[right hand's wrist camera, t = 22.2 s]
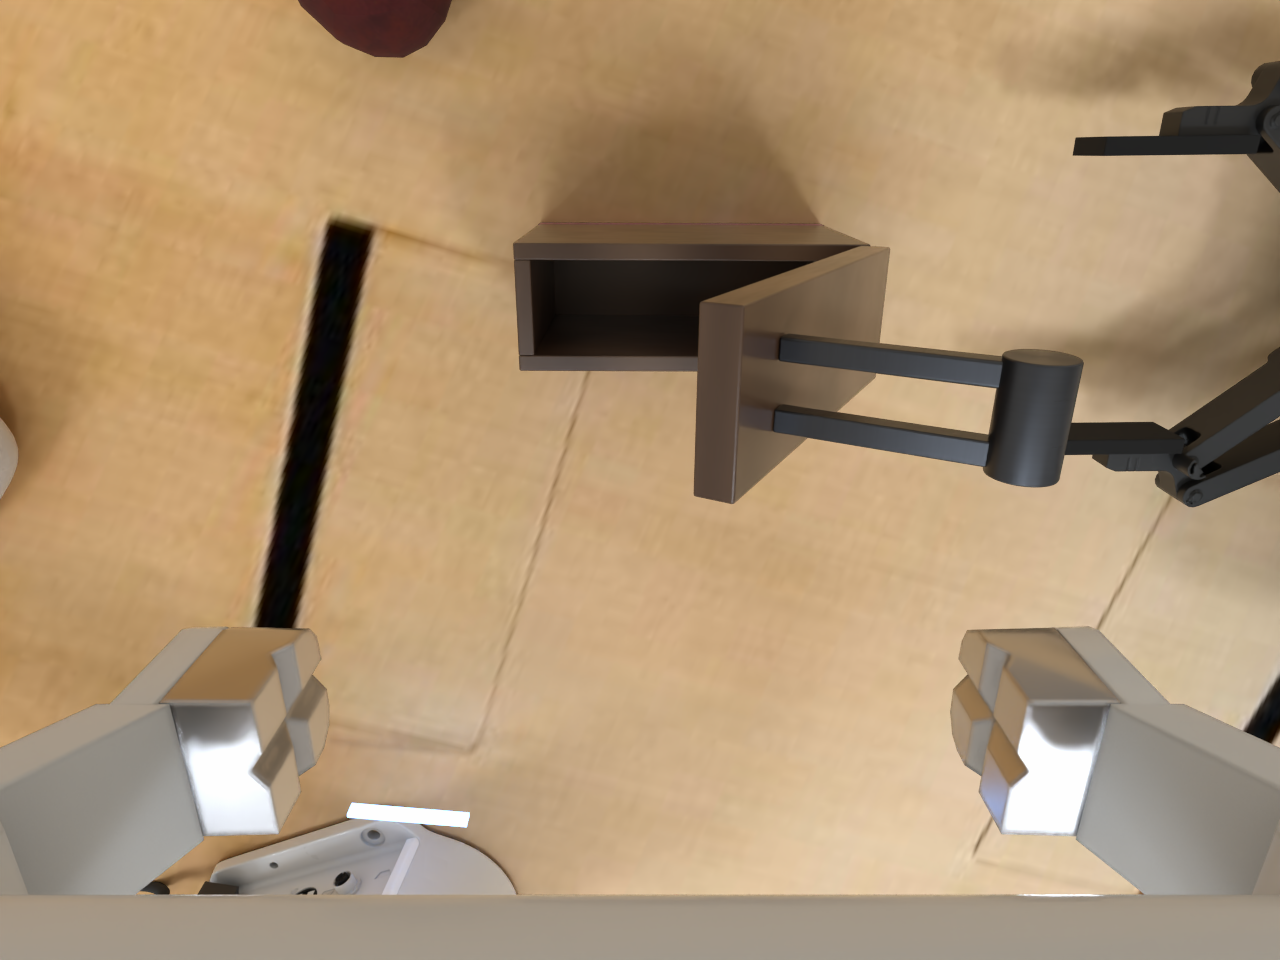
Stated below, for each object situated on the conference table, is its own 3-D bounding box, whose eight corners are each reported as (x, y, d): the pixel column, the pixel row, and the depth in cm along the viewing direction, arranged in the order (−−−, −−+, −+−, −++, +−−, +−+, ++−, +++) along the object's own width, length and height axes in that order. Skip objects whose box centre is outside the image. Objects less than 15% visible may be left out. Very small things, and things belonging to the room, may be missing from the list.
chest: (544, 324, 45) (519, 371, 36) (540, 222, 43) (512, 242, 34) (811, 326, 45) (857, 372, 36) (820, 223, 43) (871, 244, 34)
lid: (692, 496, 23) (1040, 570, 19) (698, 301, 21) (1089, 338, 17) (847, 374, 35) (1074, 403, 31) (860, 245, 33) (1105, 259, 29)
